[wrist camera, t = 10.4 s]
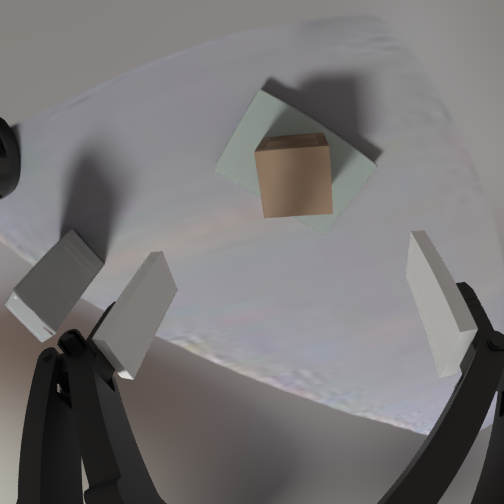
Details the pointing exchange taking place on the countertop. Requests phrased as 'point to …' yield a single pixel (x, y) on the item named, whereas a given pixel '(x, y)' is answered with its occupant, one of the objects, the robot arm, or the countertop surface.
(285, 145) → the cardboard shipping box
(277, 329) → the countertop surface
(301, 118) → the pale green flat panel
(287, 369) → the countertop surface
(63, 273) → the skincare box
